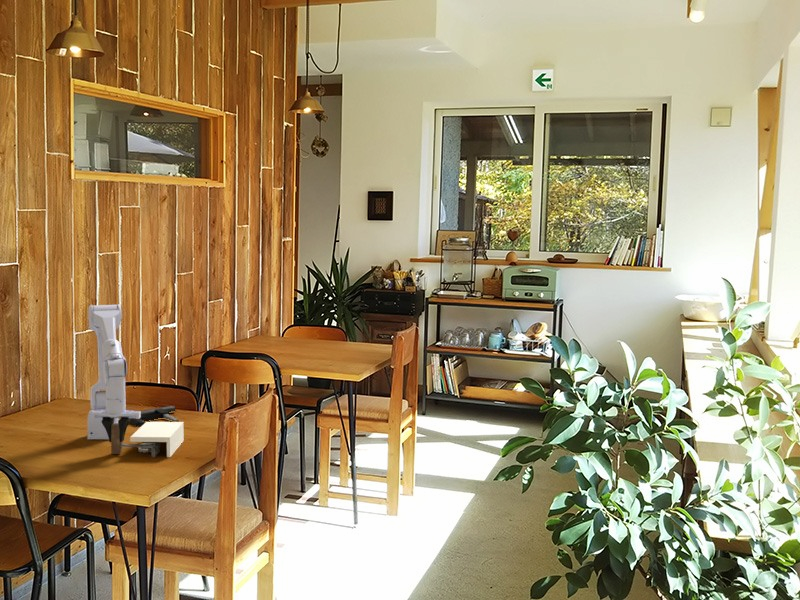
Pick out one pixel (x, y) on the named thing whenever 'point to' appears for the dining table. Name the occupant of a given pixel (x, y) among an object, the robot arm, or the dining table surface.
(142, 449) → the grey round disc
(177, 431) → the white bridge block
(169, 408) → the door handle
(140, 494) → the dining table surface
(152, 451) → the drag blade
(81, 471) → the dining table surface
